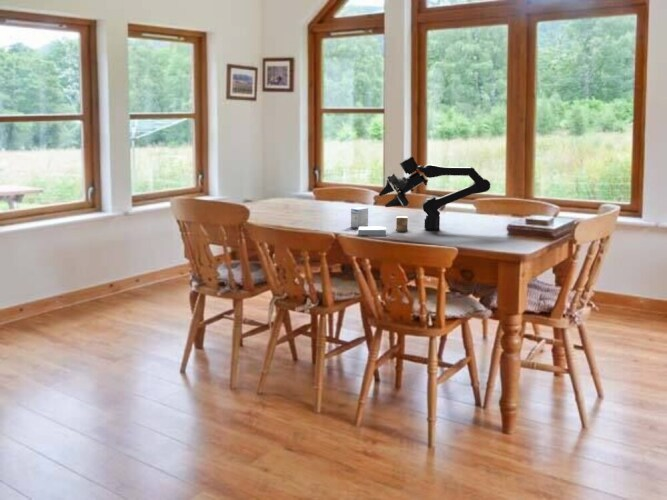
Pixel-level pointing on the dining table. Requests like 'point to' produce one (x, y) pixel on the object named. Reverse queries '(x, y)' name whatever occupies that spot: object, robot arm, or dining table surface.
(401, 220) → the walnut block
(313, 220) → the dining table surface
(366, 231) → the book
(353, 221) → the medicine box
